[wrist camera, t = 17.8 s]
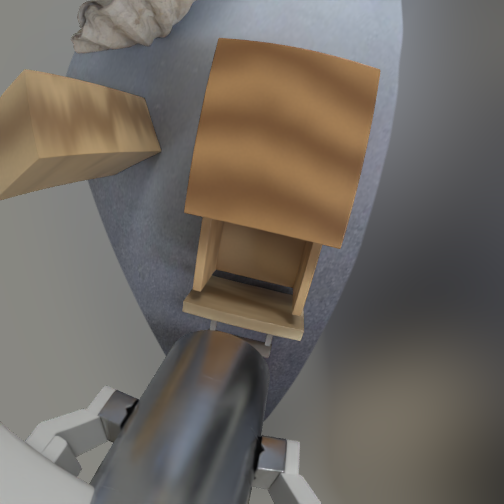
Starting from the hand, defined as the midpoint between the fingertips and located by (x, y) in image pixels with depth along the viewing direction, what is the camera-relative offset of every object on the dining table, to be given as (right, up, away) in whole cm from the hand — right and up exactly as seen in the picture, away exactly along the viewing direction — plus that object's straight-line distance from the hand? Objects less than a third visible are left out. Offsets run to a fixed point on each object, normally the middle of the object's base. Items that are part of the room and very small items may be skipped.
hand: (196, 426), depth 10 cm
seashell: (-9, +34, +15) cm, 38 cm away
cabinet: (+5, +18, +18) cm, 26 cm away
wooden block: (-12, +20, +20) cm, 31 cm away
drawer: (+3, +6, +21) cm, 22 cm away
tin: (+1, +1, +3) cm, 4 cm away
